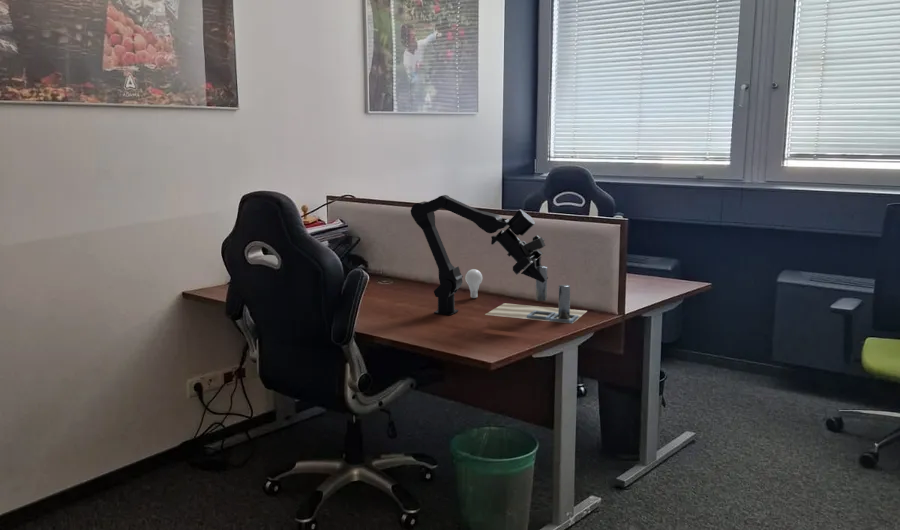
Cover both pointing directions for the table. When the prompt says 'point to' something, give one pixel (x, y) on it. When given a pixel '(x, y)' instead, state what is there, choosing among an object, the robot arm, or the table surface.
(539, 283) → the pin
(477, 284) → the lightbulb
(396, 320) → the table surface
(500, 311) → the board
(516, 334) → the table surface
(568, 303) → the fixed pin
